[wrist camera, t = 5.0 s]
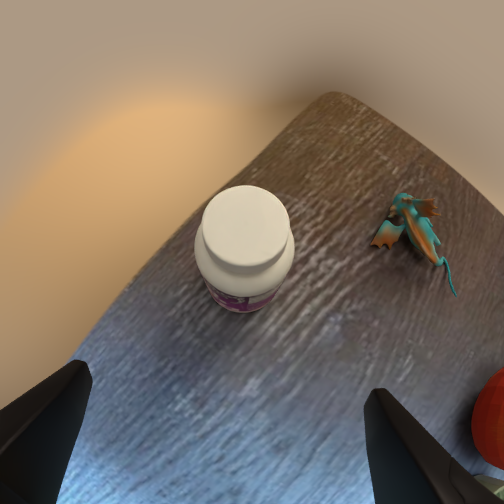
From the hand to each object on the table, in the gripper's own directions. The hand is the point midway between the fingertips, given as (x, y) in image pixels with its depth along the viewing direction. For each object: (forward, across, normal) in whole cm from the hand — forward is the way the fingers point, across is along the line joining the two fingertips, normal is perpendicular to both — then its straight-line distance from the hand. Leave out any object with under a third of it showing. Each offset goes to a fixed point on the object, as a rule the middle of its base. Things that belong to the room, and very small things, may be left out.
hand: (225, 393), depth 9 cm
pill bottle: (+14, 0, +4) cm, 15 cm away
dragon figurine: (+17, -14, +2) cm, 22 cm away
